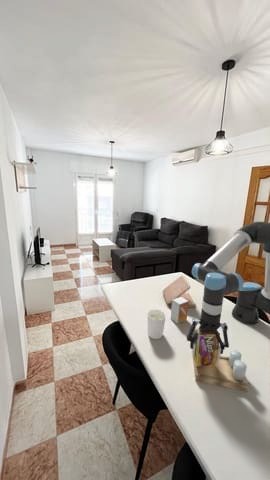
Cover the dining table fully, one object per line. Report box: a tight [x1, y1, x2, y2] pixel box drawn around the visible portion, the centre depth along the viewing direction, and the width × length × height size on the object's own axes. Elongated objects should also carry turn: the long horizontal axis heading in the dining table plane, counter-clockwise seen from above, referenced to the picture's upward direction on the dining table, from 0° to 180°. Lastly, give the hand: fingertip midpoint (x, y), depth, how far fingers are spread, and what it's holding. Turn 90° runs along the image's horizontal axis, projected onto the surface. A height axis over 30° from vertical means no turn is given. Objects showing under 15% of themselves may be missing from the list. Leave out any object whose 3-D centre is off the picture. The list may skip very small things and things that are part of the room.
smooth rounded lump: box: [232, 360, 247, 382], centre depth 80 cm, size 4×4×6 cm
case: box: [162, 275, 197, 308], centre depth 143 cm, size 20×21×16 cm
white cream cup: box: [147, 309, 167, 340], centre depth 106 cm, size 10×10×12 cm
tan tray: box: [192, 355, 250, 392], centre depth 85 cm, size 20×13×3 cm, turn 79°
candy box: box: [192, 328, 221, 366], centre depth 84 cm, size 9×4×15 cm, turn 96°
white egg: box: [228, 349, 242, 368], centre depth 86 cm, size 4×4×6 cm
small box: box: [170, 297, 189, 325], centre depth 120 cm, size 8×6×13 cm
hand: (205, 356), depth 85 cm, fingers closed on candy box, 9 cm apart
